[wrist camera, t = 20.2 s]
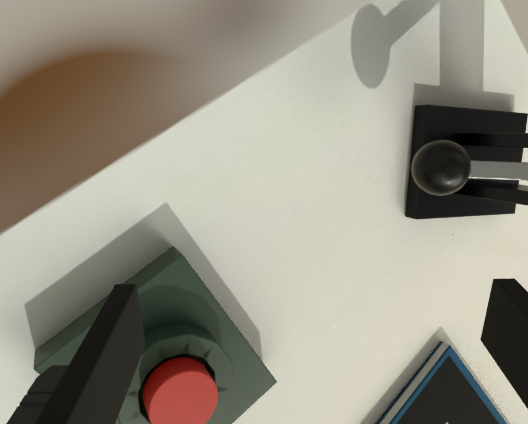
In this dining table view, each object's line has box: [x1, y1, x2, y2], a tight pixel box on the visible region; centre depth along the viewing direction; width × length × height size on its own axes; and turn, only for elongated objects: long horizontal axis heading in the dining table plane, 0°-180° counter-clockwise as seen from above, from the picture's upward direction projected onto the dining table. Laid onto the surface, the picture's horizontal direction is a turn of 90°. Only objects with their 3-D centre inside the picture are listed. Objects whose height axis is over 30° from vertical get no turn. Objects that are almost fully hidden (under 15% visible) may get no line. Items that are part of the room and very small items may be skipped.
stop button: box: [143, 357, 218, 424], centre depth 25 cm, size 4×4×2 cm
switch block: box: [34, 247, 277, 424], centre depth 28 cm, size 12×10×4 cm
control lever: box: [411, 140, 528, 196], centre depth 28 cm, size 14×4×4 cm
